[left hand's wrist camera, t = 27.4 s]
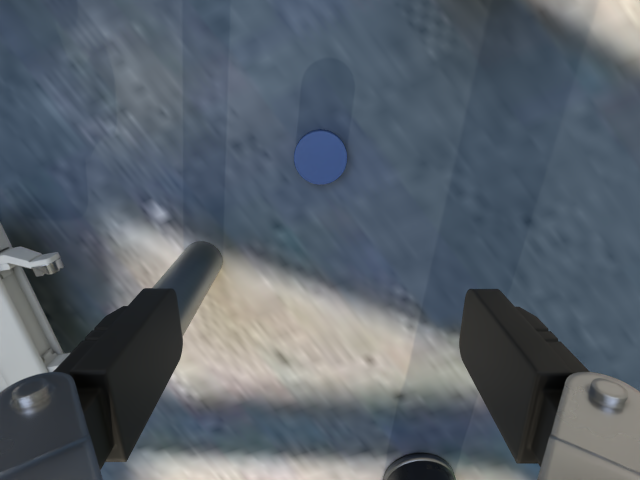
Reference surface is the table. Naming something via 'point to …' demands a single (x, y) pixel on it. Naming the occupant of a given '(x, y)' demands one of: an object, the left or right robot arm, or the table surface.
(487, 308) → the left robot arm
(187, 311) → the dark grey tube
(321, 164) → the lid
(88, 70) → the table surface
